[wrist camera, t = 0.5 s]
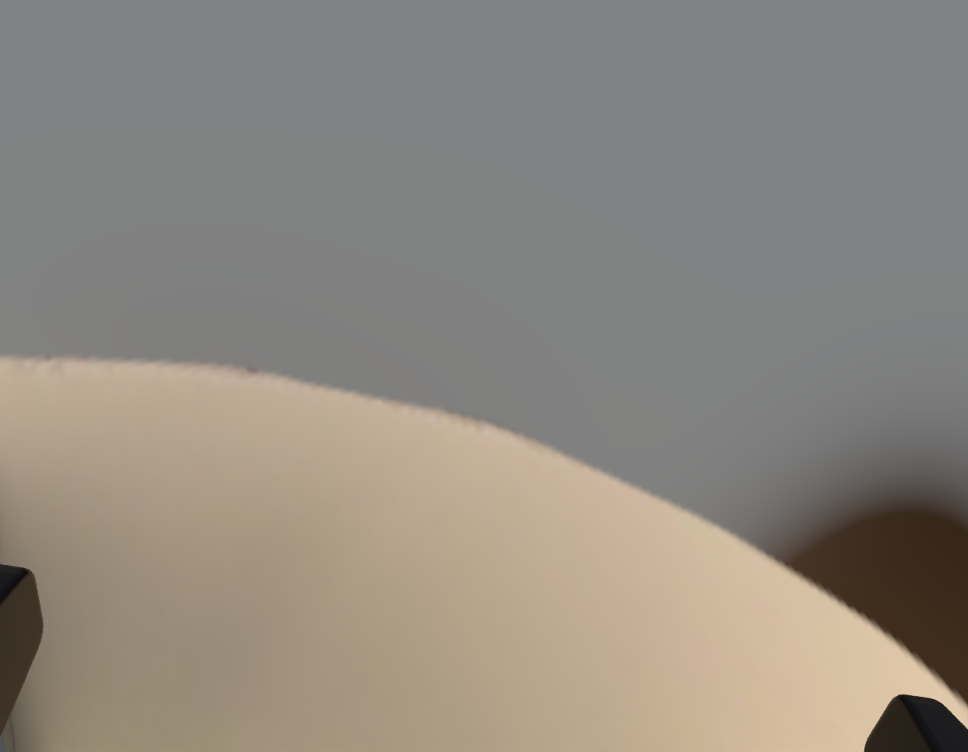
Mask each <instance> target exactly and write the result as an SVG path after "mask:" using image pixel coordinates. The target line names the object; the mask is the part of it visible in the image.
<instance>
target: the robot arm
mask: <svg viewBox="0 0 968 752" xmlns="http://www.w3.org/2000/svg"><path fill="white" fill-rule="evenodd" d="M42 633H43V618H42V613H41V607H40V602H39V596H38V591H37V585H36V580H35V577H34V574H33V573H32V572H31V571H30V570H29V569H26V568H22V567H15V566H8V565H1V564H0V738H1V736H2V733H3V731H4V728H5V726H6V724H7V721H8V719H9V717H10V714H11V712H12V709H13V707H14V705H15V702H16V700H17V698H18V695H19V693H20V691H21V688H22V686H23V683H24V681H25V679H26V676H27V674H28V672H29V669H30V667H31V665H32V662H33V660H34V657H35V655H36V653H37V650H38V648H39V645H40V642H41V638H42ZM864 752H968V729H967V728H966V727H965V726H964V725H963V724H962V723H961V722H960V721H959V720H958V719H957V718H956V717H955V716H954V715H953V714H952V713H951V712H950V711H949V710H948V709H947V708H946V707H945V706H944V705H943V704H942V703H940V702H939V701H937V700H935V699H931V698H926V697H919V696H912V695H905V694H903V695H898V696H896V697H894V698H893V699H892V700H891V701H890V703H889V704H888V706H887V708H886V709H885V711H884V713H883V714H882V716H881V717H880V719H879V721H878V722H877V724H876V725H875V727H874V729H873V730H872V732H871V733H870V735H869V737H868V739H867V741H866V744H865V748H864Z"/></svg>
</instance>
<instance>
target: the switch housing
mask: <svg viewBox="0 0 968 752" xmlns="http://www.w3.org/2000/svg"><path fill="white" fill-rule="evenodd" d="M0 752H15V748H14V741H13V733H12V726H11V719H10V717H9V719H8V721H7V724H6V726H5V728H4V731H3V733H2V736H1V738H0Z"/></svg>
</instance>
